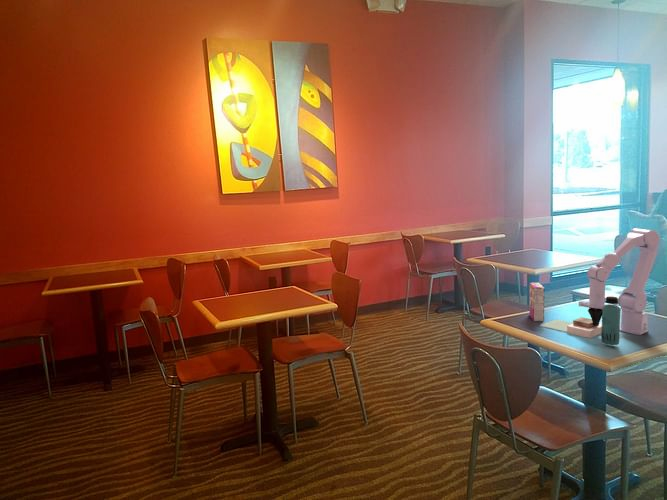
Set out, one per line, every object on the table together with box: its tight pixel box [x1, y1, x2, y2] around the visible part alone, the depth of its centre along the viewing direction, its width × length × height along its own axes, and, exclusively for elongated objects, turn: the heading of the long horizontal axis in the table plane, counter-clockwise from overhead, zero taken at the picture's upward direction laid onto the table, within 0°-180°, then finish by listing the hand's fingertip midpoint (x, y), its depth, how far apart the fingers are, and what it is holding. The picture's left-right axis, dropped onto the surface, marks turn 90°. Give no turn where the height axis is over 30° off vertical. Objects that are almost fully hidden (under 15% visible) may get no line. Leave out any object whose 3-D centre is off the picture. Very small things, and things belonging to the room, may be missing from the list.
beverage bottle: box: [600, 296, 622, 346], centre depth 191 cm, size 6×7×20 cm
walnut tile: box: [572, 317, 594, 328], centre depth 211 cm, size 7×7×2 cm
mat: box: [539, 319, 573, 333], centre depth 221 cm, size 12×14×1 cm
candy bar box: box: [528, 282, 545, 322], centre depth 233 cm, size 11×5×16 cm, turn 168°
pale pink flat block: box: [566, 322, 602, 339], centre depth 211 cm, size 10×14×3 cm
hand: (595, 325), depth 207 cm, fingers closed
